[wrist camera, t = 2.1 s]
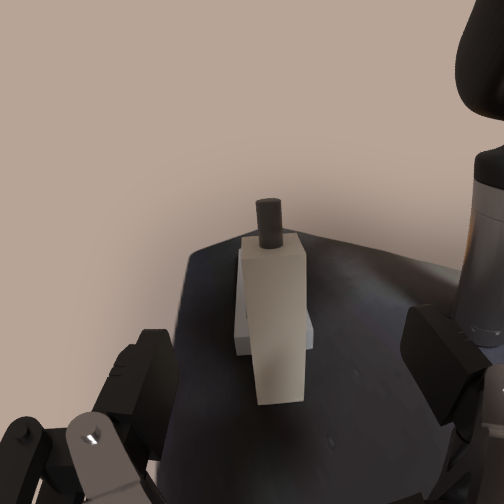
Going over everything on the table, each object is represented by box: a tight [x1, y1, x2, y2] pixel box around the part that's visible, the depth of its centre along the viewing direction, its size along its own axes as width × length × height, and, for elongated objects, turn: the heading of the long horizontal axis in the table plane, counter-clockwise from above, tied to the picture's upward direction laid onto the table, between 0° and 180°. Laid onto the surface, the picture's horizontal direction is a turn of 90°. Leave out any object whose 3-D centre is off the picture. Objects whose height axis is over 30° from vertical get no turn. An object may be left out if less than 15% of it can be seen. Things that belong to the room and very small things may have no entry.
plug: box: [241, 198, 306, 405], centre depth 22 cm, size 4×4×17 cm
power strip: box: [234, 249, 313, 356], centre depth 43 cm, size 29×8×3 cm, turn 1°
